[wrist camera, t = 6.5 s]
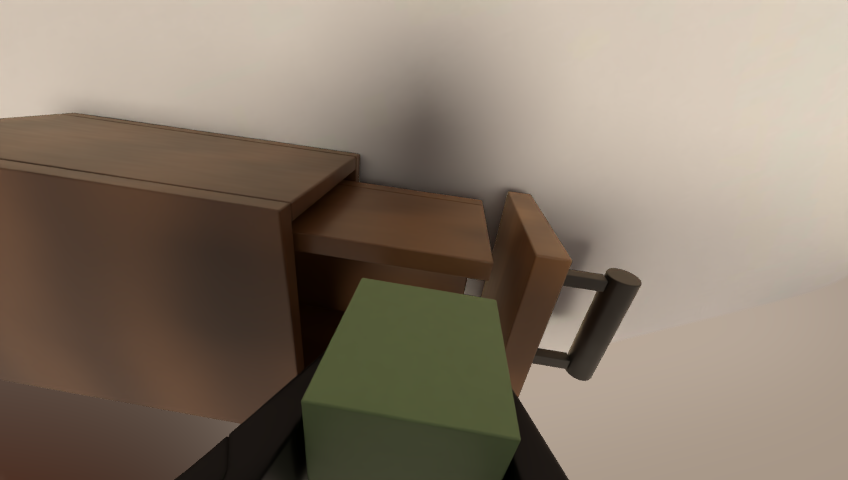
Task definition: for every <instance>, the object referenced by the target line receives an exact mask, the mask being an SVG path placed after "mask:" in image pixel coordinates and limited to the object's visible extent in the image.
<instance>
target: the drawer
mask: <svg viewBox="0 0 848 480" xmlns="http://www.w3.org/2000/svg"><path fill="white" fill-rule="evenodd" d="M291 222H292V234H293V245H294V256H295V267H296V279H297V290H298V301H299V313H300V324H301V335H302V346H303V358H304V369H305V368H306V367H307V366H308V365H310V364H311V363H312V362H313V361H314V360H315V359H316V358H318V357H319V356H320V355H321V354H322V353H323V352H324V351H326V349H327V347H328V345H329V343H330V341H331V339H332V337H333V335H334V333H335V331H336V329H337V327H338V325H339V323H340V321H341V319H342V317H343V315H344V313H345V311H346V309H347V307H348V305H349V303H350V301H351V299H352V297H353V295H354V293H355V291H356V289H357V287H358V285H359V283H360V281H361V279H362V278H367V279H373V280H379V281H385V282H391V283H397V284H404V285H410V286H416V287H422V288H428V289H434V290H440V291H446V292H452V293H458V294H464V291H465V286H466V282H467V278H471V279H478V280H484V281H485V284H484V288H483V291H482V295H481V297H482V298H488V299H494V300H496V301H497V307H498V312H499V318H500V324H501V329H502V335H503V341H504V346H505V352H506V358H507V364H508V369H509V375H510V381H511V386H512V389H513V390H514V392H515V394H516V395H517V397H519V394H520V392H521V389H522V387H523V384H524V382H525V379H526V377H527V374H528V372H529V369H530V367H531V364H532V363H534V364H540V365H546V366H552V367H558V368H564V369H566V371H567V372H568V373H569V374H570V375H571V376H573V377H574V378H576V379H578V380H582V381H586V380H589V379H590V378H591V377H592V375H593V373H594V371H595V369H596V368H597V366H598V364H599V362H600V360H601V358H602V357H603V355H604V353H605V351H606V349H607V347H608V345H609V344H610V342H611V340H612V338H613V336H614V334H615V332H616V331H617V329H618V327H619V325H620V323H621V321H622V320H623V318H624V316H625V314H626V312H627V310H628V308H629V307H630V305H631V303H632V301H633V299H634V297H635V295H636V294H637V292H638V290H639V288H640V286H641V280H640V279H639V278H638V277H636V276H635V275H633V274H632V273H630V272H627V271H625V270H621V269H617V268H610V269H608V270H607V271H606V273H605V275H602V274H596V273H590V272H583V271H577V270H570V269H569V268H570V266H571V263H572V259H571V258H570V256H569V254H568V253H567V251H566V250H565V248H564V247H563V245H562V243H561V242H560V240H559V239H558V237H557V235H556V234H555V232H554V231H553V229H552V228H551V226H550V224H549V223H548V221H547V220H546V218H545V216H544V215H543V213H542V212H541V210H540V209H539V207H538V205H537V204H536V202H535V201H534V199H533V197H532V196H531V195H530V194H524V193H517V192H510V191H508V193H507V197H506V201H505V205H504V209H503V213H502V216H501V220H500V224H499V228H498V232H497V236H496V240H495V244H494V248H493V252H491V246H490V241H489V235H488V230H487V225H486V219H485V214H484V208H483V203H482V200H477V199H470V198H463V197H456V196H450V195H443V194H436V193H429V192H422V191H416V190H409V189H402V188H395V187H389V186H382V185H375V184H368V183H361V182H355V181H348V180H342V181H341V182H339V183H338V184H337V185H336V186H335V187H333V188H332V189H331V190H330V191H328V192H327V193H326V194H325V195H324V196H322V197H321V198H320V199H319V200H317V201H316V202H315V203H314V204H313V205H311V206H310V207H309V208H308V209H307V210H305V211H304V212H303V213H302V214H300V215H299V216H298V217H297V218H296V219H294V220H293V221H291ZM562 286H569V287H575V288H582V289H588V290H595V291H597V292H596V294H595V296H594V299H593V301H592V303H591V305H590V307H589V309H588V312H587V314H586V316H585V318H584V320H583V322H582V324H581V327H580V329H579V331H578V333H577V335H576V337H575V339H574V342H573V344H572V346H571V348H570V350H569V352H568V354H567V353H565V352H559V351H553V350H547V349H541V348H538V346H539V344H540V341H541V339H542V336H543V334H544V331H545V329H546V326H547V324H548V321H549V319H550V316H551V314H552V311H553V309H554V306H555V304H556V301H557V299H558V296H559V294H560V291H561V289H562Z"/></svg>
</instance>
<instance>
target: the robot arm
mask: <svg viewBox="0 0 848 480" xmlns="http://www.w3.org/2000/svg"><path fill="white" fill-rule="evenodd" d="M324 353H325V351H324V352H323V353H322V354H321V355H320V356H319V357H318V358H316V359H315V360H314V361H313V362H312V363H311V364H310V365H308V366H307V367H306V368H305V369H304V370H303V371H301V372H300V373H299V374H298V375H297V376H296V377H295V378H293V379H292V380H291V381H290V382H289V383H288V384H287V385H285V386H284V387H283V388H282V389H281V390H280V391H278V392H277V393H276V394H275V395H274V396H273V397H272V398H270V399H269V400H268V401H267V402H266V403H265V404H264V405H262V406H261V407H260V408H259V409H258V410H257V411H255V412H254V413H253V414H252V415H251V416H250V417H249V418H247V419H246V420H245V421H244V422H243V423H242V424H240V425H239V426H238V427H237V428H236V429H235V430H234V431H232V432H231V434H230V435H229V437H226V438H224V439H223V440H222V441H221V442H220V443H218V444H217V445H216V446H215V447H214V448H213V449H212V450H210V451H209V452H208V453H207V454H206V455H204V456H203V457H202V458H201V459H200V460H198V461H197V462H196V463H195V464H194V465H192V466H191V467H190V468H189V469H188V470H186V471H185V472H184V473H182V474H181V475H180V476H179V477H177V478H176V479H175V480H308V475H307V463H306V451H305V440H304V428H303V417H302V405H301V400H302V398H303V396H304V394H305V392H306V390H307V388H308V386H309V384H310V382H311V380H312V378H313V376H314V374H315V372H316V370H317V368H318V366H319V364H320V362H321V360H322V358H323V355H324ZM512 392H513V398H514V403H515V409H516V415H517V421H518V426H519V432H520V438H521V441H520V443H519V445H518V447H517V450H516V452H515V454H514V456H513V458H512V460H511V462H510V464H509V467H508V469H507V471H506V473H505V475H504V477H503V479H502V480H569V479H568V478H567V476H566V475H565V473H564V471H563V470H562V468H561V466H560V465H559V463H558V462H557V460H556V458H555V457H554V455H553V454H552V452H551V451H550V449H549V447H548V445H547V444H546V442H545V441H544V439H543V437H542V436H541V434H540V432H539V431H538V429H537V428H536V426H535V424H534V423H533V421H532V420H531V418H530V416H529V415H528V413H527V411H526V410H525V408H524V407H523V405H522V403H521V402H520V400H519V398H518V397H517V395H516V394H515V392H514V390H513V389H512Z"/></svg>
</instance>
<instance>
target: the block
mask: <svg viewBox="0 0 848 480" xmlns="http://www.w3.org/2000/svg"><path fill="white" fill-rule="evenodd" d="M301 405H302V417H303V428H304V440H305V451H306V463H307V475H308V480H502V479H503V477H504V475H505V473H506V471H507V469H508V467H509V464H510V462H511V460H512V458H513V456H514V454H515V452H516V450H517V447H518V445H519V443H520V441H521V438H520V432H519V426H518V421H517V415H516V409H515V403H514V398H513V392H512V386H511V381H510V375H509V369H508V364H507V358H506V352H505V346H504V341H503V335H502V329H501V324H500V318H499V312H498V307H497V301H496V300H494V299H488V298H482V297H476V296H470V295H464V294H458V293H452V292H446V291H440V290H434V289H428V288H422V287H416V286H410V285H404V284H397V283H391V282H385V281H379V280H373V279H367V278H362V279H361V281H360V283H359V285H358V287H357V289H356V291H355V293H354V295H353V297H352V299H351V301H350V303H349V305H348V307H347V309H346V311H345V313H344V315H343V317H342V319H341V321H340V323H339V325H338V327H337V329H336V331H335V333H334V335H333V337H332V339H331V341H330V343H329V345H328V347H327V349H326V351H325V353H324V355H323V358H322V360H321V362H320V364H319V366H318V368H317V370H316V372H315V374H314V376H313V378H312V380H311V382H310V384H309V386H308V388H307V390H306V392H305V394H304V396H303V398H302V400H301Z"/></svg>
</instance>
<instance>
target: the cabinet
mask: <svg viewBox="0 0 848 480" xmlns="http://www.w3.org/2000/svg"><path fill="white" fill-rule="evenodd" d="M359 165H360V155H359V154H356V153H349V152H342V151H335V150H328V149H321V148H314V147H307V146H300V145H293V144H286V143H279V142H272V141H265V140H258V139H251V138H244V137H237V136H230V135H224V134H217V133H210V132H203V131H196V130H189V129H182V128H175V127H168V126H161V125H154V124H147V123H140V122H133V121H126V120H119V119H112V118H105V117H98V116H91V115H84V114H77V113H66V114H53V115H40V116H27V117H14V118H1V119H0V380H4V381H9V382H14V383H20V384H25V385H31V386H36V387H42V388H47V389H53V390H58V391H64V392H69V393H75V394H81V395H86V396H92V397H97V398H102V399H108V400H113V401H119V402H124V403H130V404H135V405H142V406H146V407H152V408H157V409H163V410H168V411H174V412H179V413H185V414H190V415H196V416H202V417H207V418H213V419H218V420H224V421H230V422H235V423H240V424H242V423H243V422H244V421H245V420H246V419H247V418H249V417H250V416H251V415H252V414H253V413H254V412H255V411H257V410H258V409H259V408H260V407H261V406H262V405H264V404H265V403H266V402H267V401H268V400H269V399H270V398H272V397H273V396H274V395H275V394H276V393H277V392H278V391H280V390H281V389H282V388H283V387H284V386H285V385H287V384H288V383H289V382H290V381H291V380H292V379H293V378H295V377H296V376H297V375H298V374H299V373H300V372H301V371H303V370H304V358H303V346H302V335H301V324H300V313H299V301H298V290H297V279H296V267H295V256H294V245H293V234H292V222H291V221H293V220H294V219H296V218H297V217H298V216H299V215H300V214H302V213H303V212H304V211H305V210H307V209H308V208H309V207H310V206H311V205H313V204H314V203H315V202H316V201H317V200H319V199H320V198H321V197H322V196H324V195H325V194H326V193H327V192H328V191H330V190H331V189H332V188H333V187H335V186H336V185H337V184H338V183H339V182H341V181H342V180H348V181H355V182H359Z"/></svg>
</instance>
